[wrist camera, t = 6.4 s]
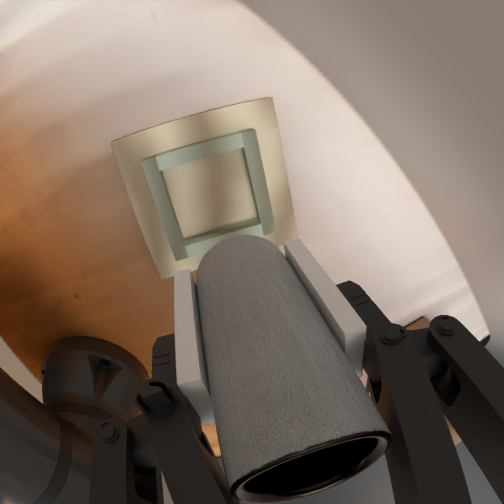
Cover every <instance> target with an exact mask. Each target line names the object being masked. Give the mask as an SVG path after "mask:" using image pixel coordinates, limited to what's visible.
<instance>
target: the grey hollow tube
mask: <svg viewBox="0 0 504 504" xmlns="http://www.w3.org/2000/svg"><path fill="white" fill-rule="evenodd" d="M196 288H197V297H198V306H199V314H200V323H201V331H202V338H203V346H204V353H205V361H206V368H207V374H208V381H209V388H210V394H211V400H212V406H213V412H214V418H215V424H216V430H217V435H218V441H219V446H220V451H221V457H222V462H223V467H224V472H225V476H226V481H227V486H228V490H229V493H230V494H231V495H232V496H233V497H234V498H236V499H238V500H240V501H243V502H248V503H260V504H262V503H277V502H284V501H290V500H295V499H299V498H303V497H306V496H310V495H313V494H316V493H319V492H322V491H325V490H327V489H330V488H332V487H335V486H337V485H339V484H341V483H343V482H345V481H347V480H349V479H351V478H353V477H355V476H356V475H358V474H360V473H361V472H363V471H364V470H366V469H367V468H369V467H370V466H371V465H373V464H374V463H375V462H376V461H377V460H379V458H381V457H382V456H383V454H384V453H385V452H386V451H387V449H388V448H389V446H390V444H391V441H392V435H391V432H390V430H389V428H388V427H387V425H386V423H385V421H384V420H383V418H382V416H381V414H380V413H379V411H378V409H377V407H376V406H375V404H374V402H373V401H372V399H371V397H370V395H369V394H368V392H367V390H366V389H365V387H364V385H363V383H362V382H361V380H360V378H359V377H358V375H357V373H356V372H355V370H354V368H353V367H352V365H351V363H350V362H349V360H348V358H347V357H346V355H345V353H344V352H343V350H342V348H341V347H340V345H339V343H338V342H337V340H336V338H335V337H334V335H333V333H332V332H331V330H330V328H329V327H328V325H327V324H326V322H325V320H324V319H323V317H322V315H321V314H320V312H319V310H318V309H317V307H316V306H315V304H314V302H313V301H312V299H311V298H310V296H309V294H308V293H307V291H306V289H305V288H304V286H303V285H302V283H301V281H300V280H299V278H298V277H297V275H296V273H295V272H294V270H293V269H292V267H291V265H290V264H289V262H288V261H287V259H286V258H285V256H284V255H283V253H282V252H281V251H280V250H279V248H278V247H277V246H276V245H275V244H273V243H272V242H270V241H269V240H267V239H265V238H262V237H259V236H254V235H238V236H233V237H230V238H227V239H224V240H222V241H220V242H219V243H217V244H216V245H214V246H213V247H212V248H211V249H209V250H208V252H207V253H206V254H205V255H204V257H203V258H202V260H201V261H200V264H199V266H198V269H197V275H196Z"/></svg>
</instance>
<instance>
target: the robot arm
mask: <svg viewBox="0 0 504 504" xmlns="http://www.w3.org/2000/svg"><path fill="white" fill-rule="evenodd" d="M283 243H284V249H285V255H286V259H287V261H288V262H289V264H290V265H291V267H292V269H293V270H294V272H295V273H296V275H297V277H298V278H299V280H300V281H301V283H302V285H303V286H304V288H305V289H306V291H307V293H308V294H309V296H310V298H311V299H312V301H313V302H314V304H315V306H316V307H317V309H318V310H319V312H320V314H321V315H322V317H323V319H324V320H325V322H326V324H327V325H328V327H329V328H330V330H331V332H332V333H333V335H334V337H335V338H336V340H337V342H338V343H339V345H340V347H341V348H342V350H343V352H344V353H345V355H346V357H347V358H348V360H349V362H350V363H351V365H352V367H353V368H354V370H355V372H356V373H357V375H358V377H361V376H362V370H363V368H364V370H365V372H366V373H367V375H368V379H367V385H366V390H367V392H368V394H369V391H370V395H371V399H372V401H373V402H374V404H375V406H376V407H377V409H378V411H379V413H380V414H381V416H382V418H383V420H384V421H385V423H386V425H387V427H388V428H389V430H390V432H391V435H392V441H391V444H390V446H389V448H388V449H387V451H386V452H385V455H386V460H387V465H388V470H389V474H390V479H391V484H392V489H393V494H394V499H395V504H472V503H471V499H470V495H469V491H468V487H467V484H466V480H465V477H464V474H463V470H462V467H461V463H460V460H459V457H458V454H457V451H456V448H455V445H454V442H453V439H452V436H451V433H450V430H449V427H448V425H447V422H446V419H445V417H446V418H447V420H448V421H449V422H450V424H451V425H452V427H453V428H454V430H455V431H456V433H457V434H458V435H459V437H460V438H461V440H462V441H463V443H464V444H465V446H466V447H467V449H468V450H469V452H470V453H471V455H472V456H473V458H474V459H475V461H476V462H477V464H478V465H479V467H480V468H481V470H482V472H483V473H484V475H485V476H486V478H487V480H488V481H489V483H490V484H491V486H492V488H493V489H494V491H495V492H496V494H497V496H498V497H499V499H500V501H501V502H502V504H504V368H503V367H502V366H501V365H500V364H499V362H498V361H497V360H496V359H495V358H494V357H493V356H492V355H491V354H490V353H489V351H487V349H486V348H485V347H484V346H483V345H482V344H481V343H480V342H479V341H478V340H477V339H476V338H475V337H474V336H473V335H472V334H471V333H470V332H469V331H468V330H467V329H466V328H465V327H464V326H463V325H462V324H461V323H460V322H459V321H458V320H457V319H456V318H454V317H452V316H448V315H440V316H437V317H435V318H434V319H432V320H431V322H430V325H429V327H428V328H422V329H416V330H406V328H404V327H403V326H401V325H398V324H394V323H391V322H390V321H389V320H388V319H387V317H386V316H385V315H384V314H383V313H382V311H381V310H380V309H379V308H378V307H377V305H376V304H375V303H374V302H373V301H372V300H371V298H370V297H369V296H368V295H366V292H365V291H364V290H363V289H362V288H361V287H360V286H359V285H358V284H356V283H354V282H352V281H350V280H349V281H346V282H343V283H341V284H338V285H335V284H334V282H333V281H332V280H331V279H330V277H329V276H328V275H327V273H326V272H325V271H324V270H323V268H322V267H321V266H320V264H319V263H318V262H317V261H316V259H315V258H314V257H313V256H312V254H311V253H310V252H309V250H308V249H307V248H306V247H305V245H304V244H303V243H302V242H301V240H300V239H299V238H295V239H292V240H288V241H285V242H283ZM174 320H175V333H174V334H170V335H166V336H162V337H158V338H157V340H156V342H155V344H154V346H153V351H152V358H153V359H152V379H149V378H148V375H147V372H146V370H145V369H144V367H143V366H142V365H141V364H140V362H139V361H138V360H137V359H135V358H134V357H133V356H132V355H131V354H129V353H128V352H126V351H125V350H123V349H121V348H119V347H117V346H115V345H113V344H111V343H108V342H105V341H102V340H98V339H94V338H88V337H70V338H65V339H61V340H59V341H57V342H55V343H54V344H52V345H51V346H50V347H49V348H48V350H47V352H46V354H45V357H44V360H43V363H42V367H41V378H42V394H43V404H42V403H41V402H40V401H38V400H37V399H36V398H35V397H33V396H32V395H31V394H30V393H29V392H27V391H26V390H25V389H24V388H23V387H22V386H20V385H19V384H18V383H17V382H16V381H14V380H13V379H12V378H11V377H10V376H9V375H8V374H7V373H6V372H5V371H4V370H2V369H1V368H0V504H5V502H9V503H11V504H164V499H163V487H162V475H161V470H162V473H163V476H164V478H165V481H166V484H167V487H168V489H169V492H170V494H171V497H172V500H173V502H174V504H240V502H239V500H238V499H236V498H234V497H233V496H232V495H231V494H230V493H229V490H228V486H227V481H226V476H225V474H224V472H223V470H222V468H221V466H220V464H219V462H218V460H217V458H216V456H215V454H214V452H213V450H212V448H211V445H210V443H209V441H208V439H207V437H206V435H205V434H204V432H203V431H202V426H201V421H202V422H203V424H204V425H209V424H213V423H215V418H214V412H213V406H212V400H211V394H210V388H209V381H208V374H207V368H206V361H205V353H204V346H203V338H202V331H201V323H200V314H199V306H198V297H197V288H196V285H195V282H194V279H193V277H192V274H191V271H190V268H189V269H185V270H182V271H178V272H175V273H174ZM444 415H445V417H444Z"/></svg>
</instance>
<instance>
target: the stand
mask: <svg viewBox="0 0 504 504" xmlns="http://www.w3.org/2000/svg"><path fill="white" fill-rule="evenodd" d="M111 145H112V148H113V151H114V155H115V158H116V161H117V164H118V167H119V170H120V173H121V176H122V179H123V182H124V185H125V187H126V190H127V193H128V196H129V199H130V201H131V204H132V207H133V210H134V212H135V215H136V218H137V220H138V223H139V226H140V228H141V231H142V233H143V236H144V238H145V241H146V243H147V246H148V248H149V251H150V253H151V256H152V258H153V261H154V263H155V265H156V268H157V270H158V273H159V275H160V277H161V280H164V279H167V278H171V277H174V273H175V272H178V271H182V270H185V269H189V268H190V271H194V270H197V269H198V266H199V264H200V261H201V260H202V258H203V257H204V255H205V254H206V253H207V252H208V250H209V249H211V248H212V247H213V246H214V245H216V244H217V243H219V242H220V241H222V240H224V239H227V238H230V237H233V236H238V235H254V236H259V237H262V238H265V239H267V240H269V241H270V242H272V243H273V244H275V245H276V246H279V245H283V244H284V243H283V242H285V241H288V240H292V239H295V238H297V231H296V225H295V219H294V213H293V207H292V201H291V195H290V189H289V183H288V178H287V172H286V166H285V161H284V156H283V150H282V145H281V140H280V135H279V129H278V124H277V119H276V114H275V110H274V105H273V100H272V97H270V98H264V99H259V100H254V101H249V102H244V103H239V104H235V105H231V106H226V107H222V108H218V109H214V110H210V111H206V112H202V113H199V114H195V115H191V116H188V117H184V118H181V119H177V120H174V121H171V122H167V123H164V124H161V125H158V126H155V127H152V128H149V129H146V130H143V131H140V132H137V133H134V134H131V135H128V136H126V137H123V138H120V139H117V140H115V141H113V142H111Z"/></svg>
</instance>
